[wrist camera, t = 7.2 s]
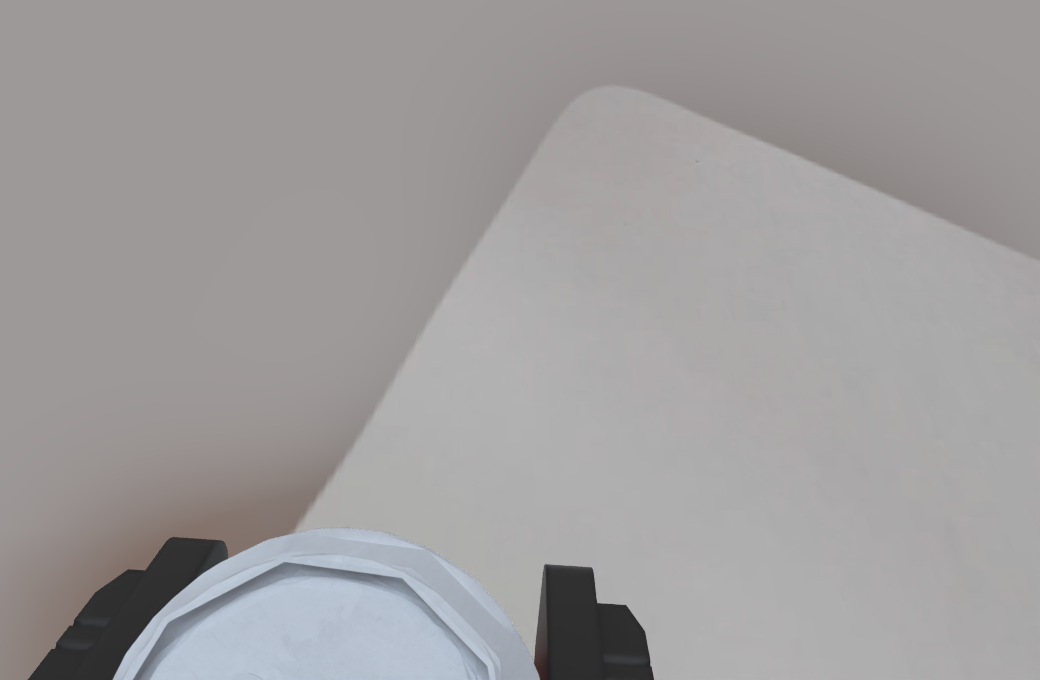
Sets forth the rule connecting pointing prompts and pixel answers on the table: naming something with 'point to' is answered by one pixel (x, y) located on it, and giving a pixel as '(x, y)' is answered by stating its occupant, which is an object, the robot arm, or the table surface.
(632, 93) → the table surface
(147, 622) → the robot arm
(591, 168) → the table surface
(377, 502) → the table surface
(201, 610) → the beer can
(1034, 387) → the table surface
